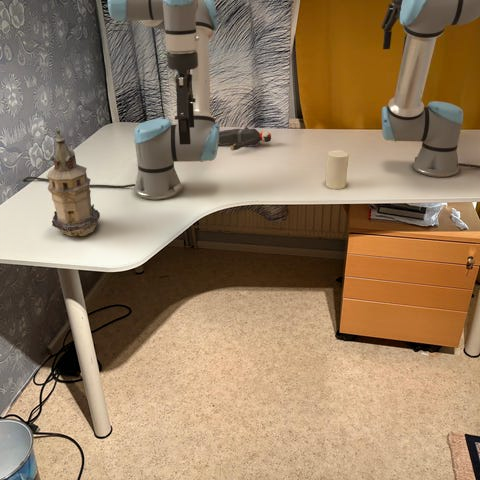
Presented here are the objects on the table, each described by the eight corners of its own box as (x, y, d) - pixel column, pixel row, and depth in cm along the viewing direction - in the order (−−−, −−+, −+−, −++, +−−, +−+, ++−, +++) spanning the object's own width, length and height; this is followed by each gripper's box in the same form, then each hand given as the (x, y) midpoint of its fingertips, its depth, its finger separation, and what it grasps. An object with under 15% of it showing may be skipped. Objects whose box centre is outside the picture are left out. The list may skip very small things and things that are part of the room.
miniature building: (80, 214, 164) (63, 117, 149) (111, 225, 157) (96, 125, 142) (44, 231, 154) (22, 130, 140) (75, 244, 147) (55, 139, 133)
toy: (206, 120, 229) (275, 120, 223) (207, 134, 232) (276, 134, 226) (189, 139, 207) (265, 140, 201) (190, 155, 210) (266, 156, 204)
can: (348, 183, 182) (351, 151, 176) (341, 190, 177) (344, 158, 171) (329, 179, 185) (332, 148, 179) (322, 186, 180) (324, 155, 174)
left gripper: (193, 61, 120) (198, 151, 130) (200, 42, 141) (204, 120, 152) (160, 61, 120) (167, 152, 130) (172, 42, 141) (177, 121, 152)
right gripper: (376, -12, 203) (370, 47, 214) (414, -6, 183) (406, 58, 193) (393, -12, 205) (386, 46, 216) (433, -7, 185) (423, 57, 195)
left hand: (187, 135), depth 141 cm, fingers open, 13 cm apart
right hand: (395, 52), depth 204 cm, fingers open, 13 cm apart
